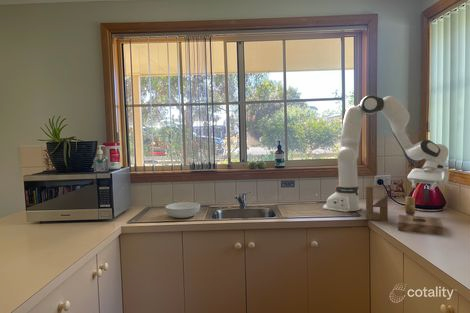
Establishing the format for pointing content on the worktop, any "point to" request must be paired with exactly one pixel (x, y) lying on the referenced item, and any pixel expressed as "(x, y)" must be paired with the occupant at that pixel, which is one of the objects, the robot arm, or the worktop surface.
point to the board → (420, 224)
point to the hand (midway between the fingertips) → (421, 188)
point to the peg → (410, 206)
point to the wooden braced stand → (381, 203)
